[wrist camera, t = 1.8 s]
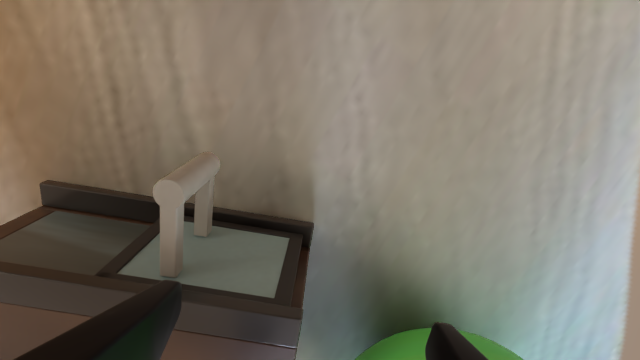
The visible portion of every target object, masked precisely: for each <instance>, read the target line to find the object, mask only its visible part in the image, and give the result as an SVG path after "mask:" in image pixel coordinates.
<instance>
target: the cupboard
mask: <svg viewBox="0 0 640 360" xmlns="http://www.w3.org/2000/svg"><path fill="white" fill-rule="evenodd" d="M40 191H41V199H42V205H43V206H41V207H39V208H37V209H35V210H33V211H30V212H28V213H26V214H24V215H22V216H20V217H18V218H16V219H14V220H12V221H10V222H7V223H5V224H3V225H1V226H0V360H13V359H15V358H17V357H19V356H21V355H22V354H24V353H26V352H28V351H30V350H32V349H34V348H36V347H38V346H40V345H41V344H43V343H45V342H47V341H49V340H51V339H53V338H55V337H57V336H58V335H60V334H62V333H64V332H66V331H68V330H70V329H72V328H74V327H75V326H77V325H79V324H81V323H83V322H85V321H87V320H89V319H91V318H93V317H94V316H96V315H98V314H100V313H102V312H104V311H106V310H108V309H110V308H111V307H113V306H115V305H117V304H119V303H121V302H123V301H125V300H127V299H128V298H130V297H132V296H134V295H136V294H138V293H140V292H142V291H144V290H146V289H147V288H149V287H151V286H153V285H150V284H143V283H137V282H131V281H124V280H118V279H112V278H105V277H99V276H94V275H95V274H96V273H97V272H98V271H99V270H100V269H102V268H103V267H104V266H105V265H106V264H107V263H108V262H110V261H111V260H112V259H113V258H114V257H115V256H117V255H118V254H119V253H120V252H121V251H122V250H123V249H125V248H126V247H127V246H128V245H129V244H130V243H131V242H133V241H134V240H135V239H136V238H137V237H138V236H140V235H141V234H142V233H143V232H144V231H145V230H146V229H148V228H149V227H150V226H151V225H152V224H153V223H155V222H156V221H157V220H158V219H159V218H160V205H158V204H157V203H156V201H155V200H154V198H153V197H149V196H143V195H137V194H130V193H124V192H118V191H112V190H106V189H100V188H93V187H87V186H81V185H75V184H69V183H62V182H56V181H50V180H47V181H44V182H42V183H40ZM194 215H195V204H192V203H186V202H185V203H184V216H190V217H194ZM212 220H215V221H221V222H227V223H234V224H240V225H246V226H252V227H258V228H265V229H271V230H277V231H283V232H289V233H296V234H302V235H303V238H302V244H301V250H300V256H299V261H298V267H297V272H296V278H295V283H294V289H293V295H292V300H291V306H290V307H289V306H283V305H277V304H270V303H264V302H258V301H251V300H245V299H239V298H232V297H226V296H220V295H213V294H207V293H201V292H194V291H188V290H182V299H181V312H180V315H179V318H178V320H177V322H176V324H175V327H174V329H173V331H172V333H171V335H170V338H169V340H168V342H167V344H166V347H165V349H164V351H163V353H162V356H161V358H160V360H295V357H296V352H297V346H298V340H299V335H300V329H301V323H302V317H303V309H302V306H303V298H304V290H305V283H306V275H307V267H308V260H309V252H310V245H311V239H312V234H313V228H314V223H310V222H303V221H297V220H291V219H285V218H279V217H273V216H266V215H260V214H254V213H248V212H242V211H236V210H229V209H223V208H217V207H213V213H212Z"/></svg>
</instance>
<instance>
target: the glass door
mask: <svg viewBox="0 0 640 360" xmlns="http://www.w3.org/2000/svg"><path fill="white" fill-rule="evenodd" d="M219 170H220V160H219V158H218V157H217V156H216V155H215V154H213V153H211V152H202V153H201V154H199V155H197V156H196V157H194V158H193V159H191V160H190V161H188V162H187V163H185V164H184V165H182V166H181V167H179V168H177V169H176V170H174V171H173V172H171V173H170V174H168V175H167V176H165V177H164V178H162V179H161V180H159V181H158V182H156V183H155V185H154V186H153V190H152V194H153V198H154V200H155V201H156V203H157V204H158V205H160V218H159V219H158V220H157V221H156V222H155V223H153V224H152V225H151V226H150V227H149V228H148V229H146V230H145V231H144V232H143V233H142V234H141V235H140V236H138V237H137V238H136V239H135V240H134V241H133V242H131V243H130V244H129V245H128V246H127V247H126V248H125V249H123V250H122V251H121V252H120V253H119V254H118V255H117V256H115V257H114V258H113V259H112V260H111V261H110V262H108V263H107V264H106V265H105V266H104V267H103V268H102V269H100V270H99V271H98V272H97V273H96V274H95V275H94V276H99V277H105V278H112V279H118V280H124V281H131V282H137V283H143V284H150V285H155V284H157V283H159V282H161V281H163V280H173V281H179V282H180V283H181V285H182V290H188V291H194V292H201V293H207V294H213V295H220V296H226V297H232V298H239V299H245V300H251V301H258V302H264V303H270V304H277V305H283V306H289V307H290V306H291V300H292V295H293V289H294V283H295V278H296V272H297V267H298V261H299V256H300V250H301V244H302V238H303V235H302V234H296V233H289V232H283V231H277V230H271V229H265V228H258V227H252V226H246V225H240V224H234V223H227V222H221V221H215V220H212V213H213V195H214V177H215V174H216V173H218V171H219ZM193 194H195V215H194V217H190V216H184V203H185V202H186V201H187V200H188V199H189V198H190V197H191V196H192V195H193Z"/></svg>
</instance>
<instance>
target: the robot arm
mask: <svg viewBox="0 0 640 360" xmlns="http://www.w3.org/2000/svg"><path fill="white" fill-rule="evenodd" d="M181 299H182V285H181V283H180V282H179V281H173V280H163V281H161V282H159V283H157V284H155V285H153V286H151V287H149V288H147V289H146V290H144V291H142V292H140V293H138V294H136V295H134V296H132V297H130V298H128V299H127V300H125V301H123V302H121V303H119V304H117V305H115V306H113V307H111V308H110V309H108V310H106V311H104V312H102V313H100V314H98V315H96V316H94V317H93V318H91V319H89V320H87V321H85V322H83V323H81V324H79V325H77V326H75V327H74V328H72V329H70V330H68V331H66V332H64V333H62V334H60V335H58V336H57V337H55V338H53V339H51V340H49V341H47V342H45V343H43V344H41V345H40V346H38V347H36V348H34V349H32V350H30V351H28V352H26V353H24V354H22V355H21V356H19V357H17V358H15V359H13V360H160V358H161V356H162V353H163V351H164V349H165V347H166V344H167V342H168V340H169V338H170V335H171V333H172V331H173V329H174V327H175V324H176V322H177V320H178V318H179V315H180V312H181ZM425 357H426V360H488V359H487V358H486V357H485V356H484V355H483V354H482V353H481V352H480V351H479V350H478V349H477V348H476V347H475V346H473V345H472V344H471V343H470V342H469V341H468V340H467V339H466V338H465V337H464V336H463V335H462V334H461V333H460V332H459V331H458V330H456V329H455V328H454V327H453V326H452V325H450V324H447V323H440V322H436V323H434V324H433V326H432V329H431V332H430V334H429V337H428V340H427V343H426V347H425Z"/></svg>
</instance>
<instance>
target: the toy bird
mask: <svg viewBox="0 0 640 360" xmlns="http://www.w3.org/2000/svg"><path fill="white" fill-rule="evenodd" d="M431 329H432V328H421V329H414V330H408V331H404V332H401V333H397V334H395V335H392V336H390V337H387V338H385V339H383V340H381V341H379V342H378V343H376V344H374V345H373V346H371V347H370V348H368V349H367V350H365V351H364V352H363V353H362V354H361V355H359V356H358V357H357V358H356V359H355V360H426V357H425V347H426V343H427V340H428V337H429V334H430V332H431ZM458 331H459V332H460V333H461V334H462V335H463V336H464V337H465V338H466V339H467V340H468V341H469V342H470V343H471V344H472V345H473V346H475V347H476V348H477V349H478V350H479V351H480V352H481V353H482V354H483V355H484V356H485V357H486V358H487V359H488V360H523V359H522V358H521V357H519V356H518V355H516V354H515V353H513V352H512V351H510V350H508V349H507V348H505V347H503V346H501V345H499V344H497V343H495V342H493V341H491V340H489V339H486V338H484V337H481V336H478V335H475V334H472V333H469V332H464V331H460V330H458Z"/></svg>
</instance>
